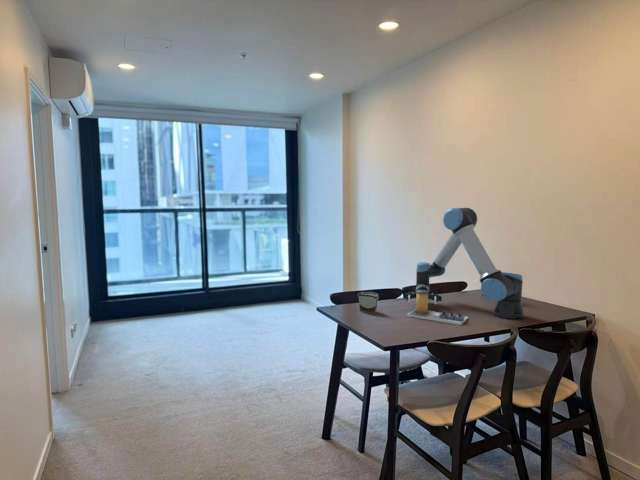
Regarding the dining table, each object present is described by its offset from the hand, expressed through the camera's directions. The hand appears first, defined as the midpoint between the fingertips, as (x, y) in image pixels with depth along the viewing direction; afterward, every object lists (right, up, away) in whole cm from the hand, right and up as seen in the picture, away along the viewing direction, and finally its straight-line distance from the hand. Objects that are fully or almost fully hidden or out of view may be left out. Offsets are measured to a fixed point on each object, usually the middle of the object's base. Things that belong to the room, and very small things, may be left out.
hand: (422, 300), depth 230 cm
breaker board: (+8, -9, -1) cm, 12 cm away
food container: (-26, -7, +11) cm, 29 cm away
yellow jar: (+1, -7, +4) cm, 8 cm away
